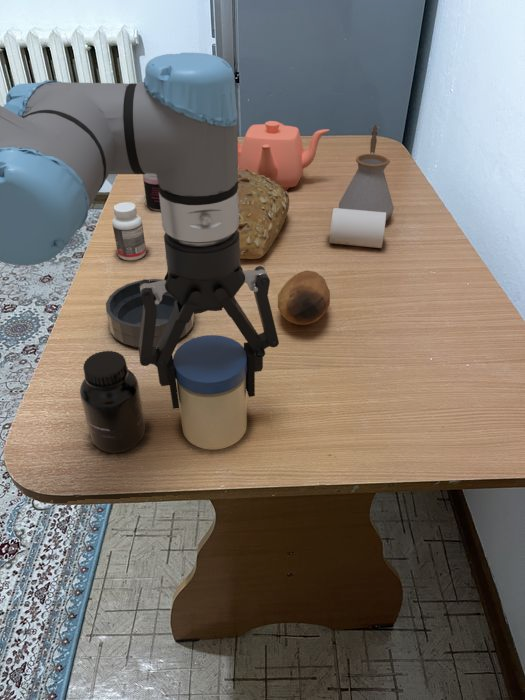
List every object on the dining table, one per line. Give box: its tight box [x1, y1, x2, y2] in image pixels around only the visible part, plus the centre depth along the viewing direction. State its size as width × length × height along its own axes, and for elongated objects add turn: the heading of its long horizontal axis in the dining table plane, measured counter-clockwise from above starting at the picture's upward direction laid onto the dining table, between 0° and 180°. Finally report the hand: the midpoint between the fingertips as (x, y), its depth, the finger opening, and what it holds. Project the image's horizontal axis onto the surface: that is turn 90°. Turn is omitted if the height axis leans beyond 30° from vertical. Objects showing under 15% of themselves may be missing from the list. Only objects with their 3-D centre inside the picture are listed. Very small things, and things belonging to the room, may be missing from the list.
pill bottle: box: [111, 201, 147, 261], centre depth 105 cm, size 5×5×10 cm
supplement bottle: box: [79, 350, 146, 453], centre depth 69 cm, size 7×7×12 cm
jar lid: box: [173, 334, 247, 394], centre depth 67 cm, size 9×9×2 cm
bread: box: [237, 169, 290, 260], centre depth 111 cm, size 24×21×12 cm
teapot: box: [238, 120, 330, 191], centre depth 131 cm, size 18×18×14 cm
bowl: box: [105, 278, 195, 348], centre depth 89 cm, size 13×13×4 cm
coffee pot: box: [338, 124, 395, 221], centre depth 120 cm, size 21×12×15 cm, turn 169°
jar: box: [176, 376, 248, 450], centre depth 70 cm, size 8×8×10 cm
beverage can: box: [142, 173, 161, 212], centre depth 120 cm, size 7×7×15 cm
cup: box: [329, 207, 387, 249], centre depth 110 cm, size 7×7×10 cm
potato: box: [277, 270, 331, 326], centre depth 90 cm, size 8×13×8 cm
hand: (212, 395), depth 70 cm, fingers closed on jar lid, 9 cm apart
